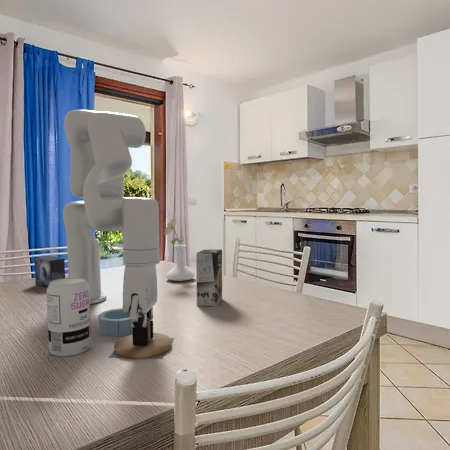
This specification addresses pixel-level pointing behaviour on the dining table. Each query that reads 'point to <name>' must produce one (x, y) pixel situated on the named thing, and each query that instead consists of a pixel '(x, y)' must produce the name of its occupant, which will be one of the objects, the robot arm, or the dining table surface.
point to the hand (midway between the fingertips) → (143, 341)
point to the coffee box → (209, 277)
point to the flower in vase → (178, 257)
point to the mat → (146, 358)
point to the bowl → (114, 323)
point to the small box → (48, 270)
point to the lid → (154, 347)
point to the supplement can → (68, 316)
